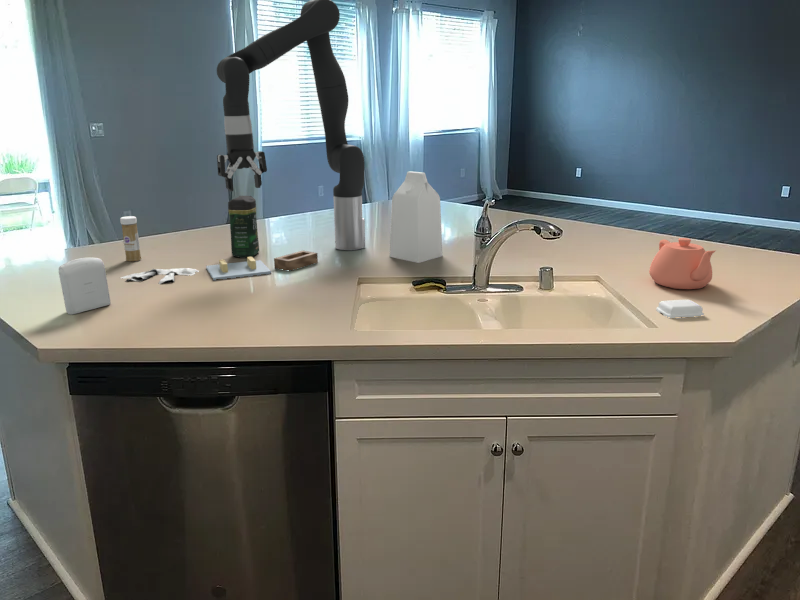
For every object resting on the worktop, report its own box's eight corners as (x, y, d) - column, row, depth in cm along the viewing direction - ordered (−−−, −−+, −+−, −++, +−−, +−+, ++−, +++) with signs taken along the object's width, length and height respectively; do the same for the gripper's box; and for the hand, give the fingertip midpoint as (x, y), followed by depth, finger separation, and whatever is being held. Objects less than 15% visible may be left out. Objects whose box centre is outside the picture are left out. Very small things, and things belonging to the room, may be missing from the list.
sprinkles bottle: (123, 262, 196) (117, 218, 192) (129, 258, 201) (123, 215, 196) (138, 261, 196) (132, 218, 192) (144, 258, 201) (138, 215, 197)
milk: (442, 256, 201) (443, 172, 193) (418, 263, 193) (418, 175, 185) (414, 250, 209) (414, 169, 201) (389, 256, 201) (388, 172, 193)
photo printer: (71, 316, 149) (62, 264, 145) (62, 312, 151) (53, 261, 148) (113, 305, 156) (106, 255, 152) (105, 301, 159) (97, 253, 155)
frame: (303, 259, 197) (302, 250, 196) (317, 262, 194) (317, 253, 193) (274, 268, 188) (273, 258, 187) (289, 271, 185) (288, 261, 184)
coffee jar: (254, 258, 199) (249, 198, 194) (229, 258, 200) (223, 198, 194) (262, 251, 209) (258, 194, 203) (238, 251, 209) (233, 193, 203)
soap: (669, 320, 144) (670, 308, 143) (653, 310, 151) (654, 299, 150) (706, 318, 146) (707, 306, 145) (688, 308, 152) (690, 297, 151)
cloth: (209, 271, 188) (208, 263, 187) (169, 293, 168) (168, 284, 167) (146, 268, 192) (145, 260, 191) (100, 289, 172) (98, 280, 171)
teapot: (734, 295, 161) (741, 247, 157) (680, 299, 158) (686, 250, 154) (680, 272, 181) (686, 229, 177) (632, 275, 178) (637, 232, 175)
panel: (260, 262, 195) (259, 252, 194) (271, 273, 182) (270, 262, 181) (206, 268, 188) (205, 257, 187) (213, 280, 176) (212, 269, 175)
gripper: (220, 134, 176) (227, 193, 181) (267, 131, 184) (272, 187, 189) (209, 133, 181) (216, 190, 186) (255, 130, 189) (260, 185, 195)
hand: (244, 189), depth 188 cm, fingers open, 8 cm apart
